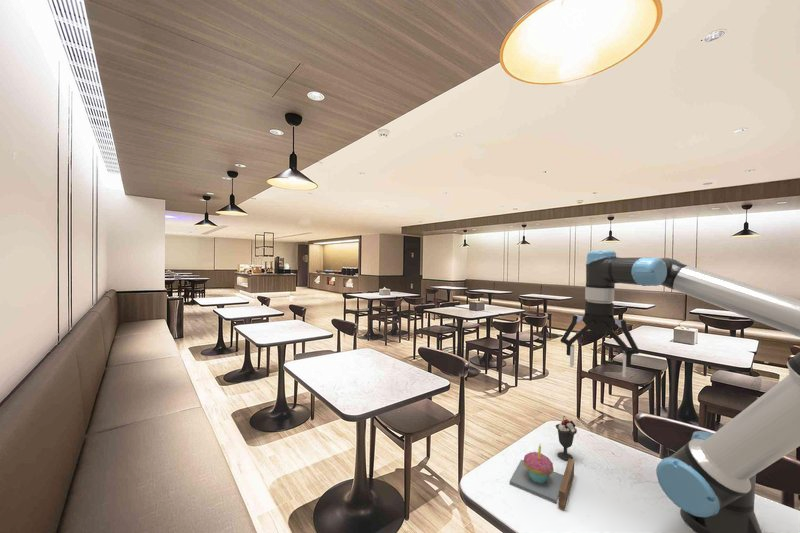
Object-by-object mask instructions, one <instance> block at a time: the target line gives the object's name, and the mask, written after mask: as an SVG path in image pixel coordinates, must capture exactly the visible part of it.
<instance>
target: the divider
mask: <svg viewBox="0 0 800 533" xmlns="http://www.w3.org/2000/svg"><path fill="white" fill-rule="evenodd" d="M566 462H567V463H566V465H565V469H564V473H563V474H562V475H563V479H562V482H561V485H560V488H559V497H558V500H557V503H558V504H557V505H558V506H557V509H559V510H561V511H563V512H565V511H566V508H567V503H568V500H569V496H570V492H571V488H572V485H573V484H572V483H573V480H574V476H575V459H574V458H573V459H570V458H569V459H568V461H566Z"/></svg>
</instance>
